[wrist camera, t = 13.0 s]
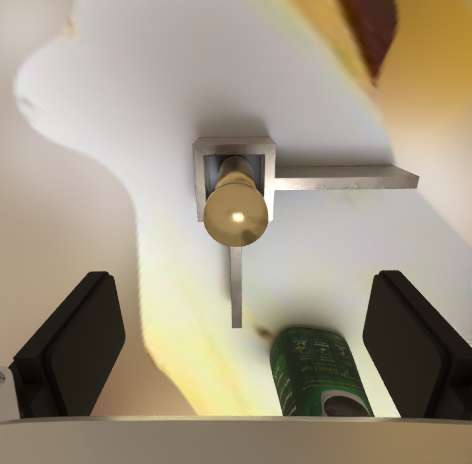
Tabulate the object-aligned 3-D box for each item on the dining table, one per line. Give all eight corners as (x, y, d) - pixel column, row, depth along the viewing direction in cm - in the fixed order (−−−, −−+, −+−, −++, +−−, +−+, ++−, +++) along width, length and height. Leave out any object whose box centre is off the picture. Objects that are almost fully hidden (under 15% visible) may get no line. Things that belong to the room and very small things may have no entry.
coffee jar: (263, 365, 40) (283, 564, 23) (279, 319, 37) (317, 509, 20) (332, 377, 41) (402, 576, 24) (354, 332, 38) (452, 525, 21)
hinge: (399, 135, 28) (427, 141, 24) (366, 300, 36) (383, 326, 31) (198, 137, 28) (192, 144, 24) (208, 301, 36) (205, 328, 32)
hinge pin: (256, 151, 29) (269, 185, 18) (255, 192, 30) (267, 246, 19) (214, 152, 29) (201, 186, 18) (216, 193, 30) (204, 247, 19)
